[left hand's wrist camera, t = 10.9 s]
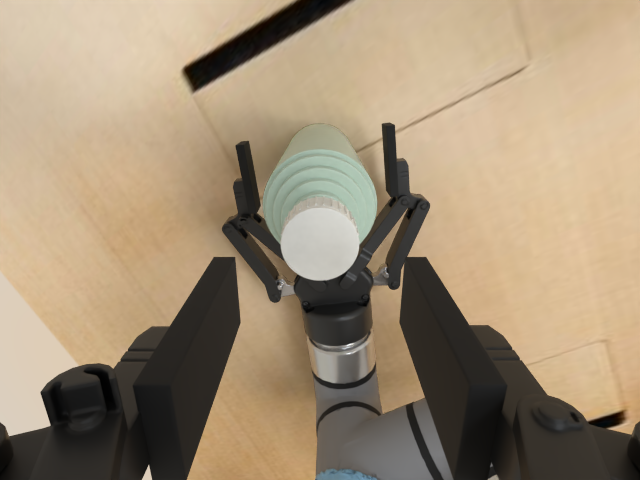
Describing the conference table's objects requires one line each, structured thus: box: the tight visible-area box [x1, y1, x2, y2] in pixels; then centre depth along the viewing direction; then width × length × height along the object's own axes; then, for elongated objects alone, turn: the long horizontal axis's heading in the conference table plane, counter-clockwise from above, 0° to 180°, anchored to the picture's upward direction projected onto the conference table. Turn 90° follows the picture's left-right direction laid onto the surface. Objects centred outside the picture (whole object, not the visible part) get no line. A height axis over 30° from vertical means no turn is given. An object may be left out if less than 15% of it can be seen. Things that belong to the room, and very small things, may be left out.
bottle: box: [263, 124, 377, 245], centre depth 31 cm, size 7×7×26 cm
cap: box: [280, 196, 360, 281], centre depth 20 cm, size 4×4×2 cm
